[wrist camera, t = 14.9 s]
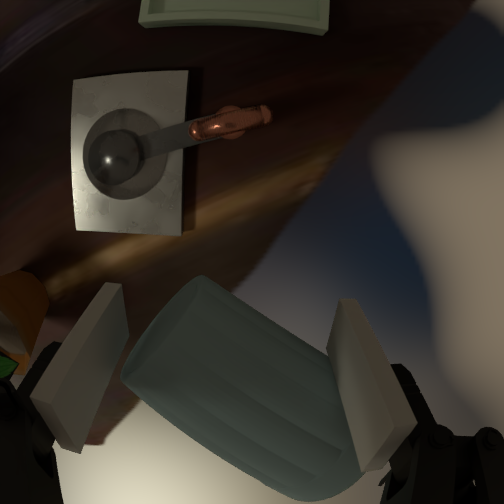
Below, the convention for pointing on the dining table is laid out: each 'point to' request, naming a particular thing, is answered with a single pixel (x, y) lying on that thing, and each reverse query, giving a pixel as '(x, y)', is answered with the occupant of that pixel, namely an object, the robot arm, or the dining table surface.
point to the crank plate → (155, 168)
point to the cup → (246, 392)
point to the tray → (238, 14)
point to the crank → (167, 141)
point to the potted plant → (20, 320)
